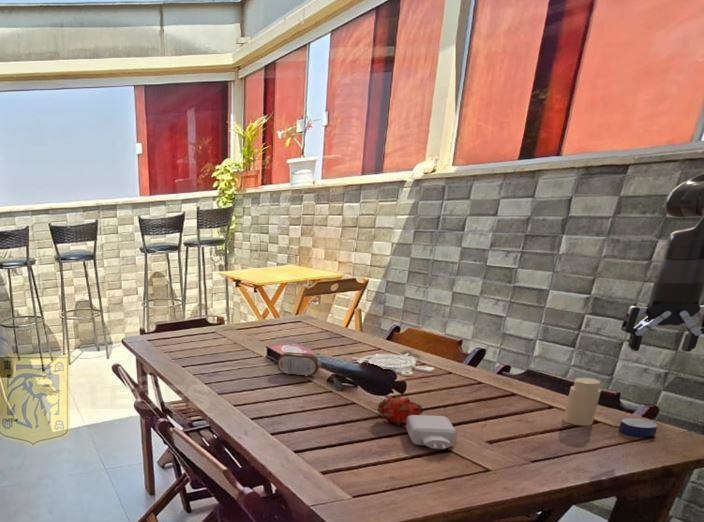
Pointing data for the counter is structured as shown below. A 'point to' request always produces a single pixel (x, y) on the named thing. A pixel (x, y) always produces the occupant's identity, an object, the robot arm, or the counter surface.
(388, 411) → the dragon fruit
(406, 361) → the pendant
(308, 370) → the tin
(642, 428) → the jar lid
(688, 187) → the robot arm
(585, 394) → the jar
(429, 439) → the charger
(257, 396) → the counter surface
